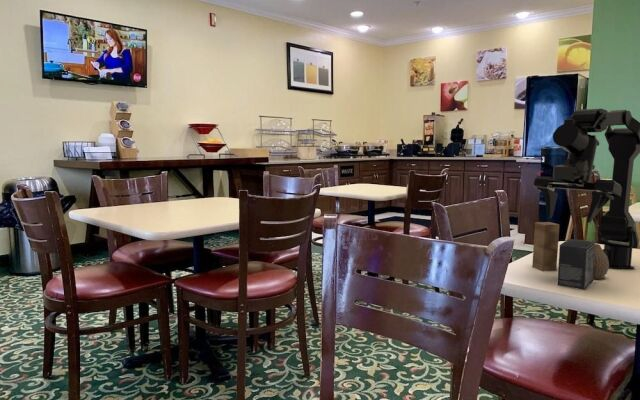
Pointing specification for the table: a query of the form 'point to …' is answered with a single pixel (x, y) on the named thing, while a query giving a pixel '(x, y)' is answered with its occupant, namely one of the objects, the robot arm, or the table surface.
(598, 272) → the vase
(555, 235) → the walnut block
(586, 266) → the small box
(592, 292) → the table surface
